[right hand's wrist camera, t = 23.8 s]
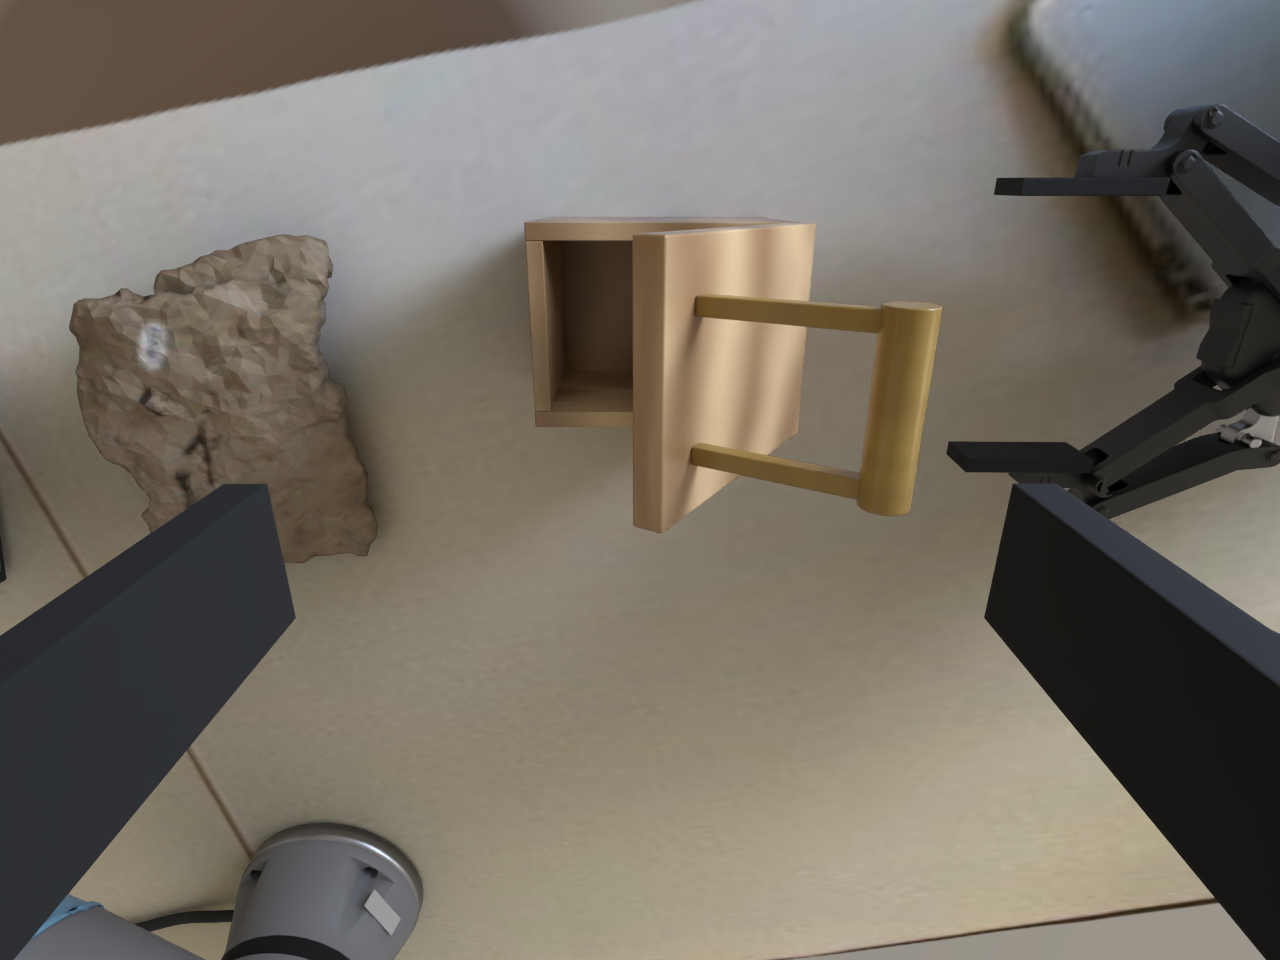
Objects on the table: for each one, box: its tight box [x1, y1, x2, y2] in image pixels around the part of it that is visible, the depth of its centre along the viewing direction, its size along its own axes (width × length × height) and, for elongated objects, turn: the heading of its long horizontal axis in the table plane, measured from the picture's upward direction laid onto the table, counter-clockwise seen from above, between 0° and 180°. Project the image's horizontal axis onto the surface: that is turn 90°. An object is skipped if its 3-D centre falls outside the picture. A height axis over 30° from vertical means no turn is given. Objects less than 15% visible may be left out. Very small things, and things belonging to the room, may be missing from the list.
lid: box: [632, 223, 942, 533], centre depth 27 cm, size 14×10×9 cm
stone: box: [69, 234, 378, 563], centre depth 43 cm, size 21×15×6 cm
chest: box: [524, 217, 799, 427], centre depth 39 cm, size 13×10×10 cm
